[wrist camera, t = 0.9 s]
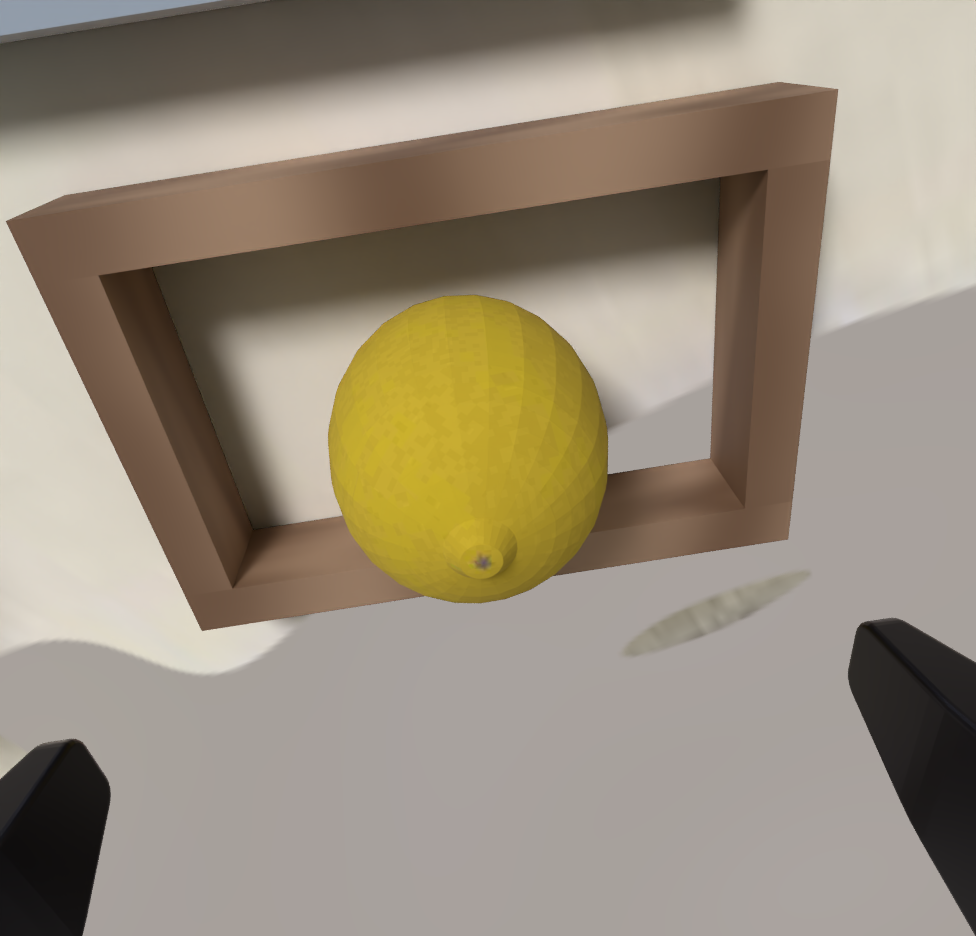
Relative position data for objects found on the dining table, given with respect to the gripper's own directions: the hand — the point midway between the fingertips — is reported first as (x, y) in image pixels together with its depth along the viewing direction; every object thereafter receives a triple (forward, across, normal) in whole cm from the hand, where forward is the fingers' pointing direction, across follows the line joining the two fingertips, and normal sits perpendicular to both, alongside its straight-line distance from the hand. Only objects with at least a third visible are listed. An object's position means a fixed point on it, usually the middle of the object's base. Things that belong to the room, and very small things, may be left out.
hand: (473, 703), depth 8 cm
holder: (+11, 0, 0) cm, 11 cm away
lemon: (+11, 0, 0) cm, 11 cm away
